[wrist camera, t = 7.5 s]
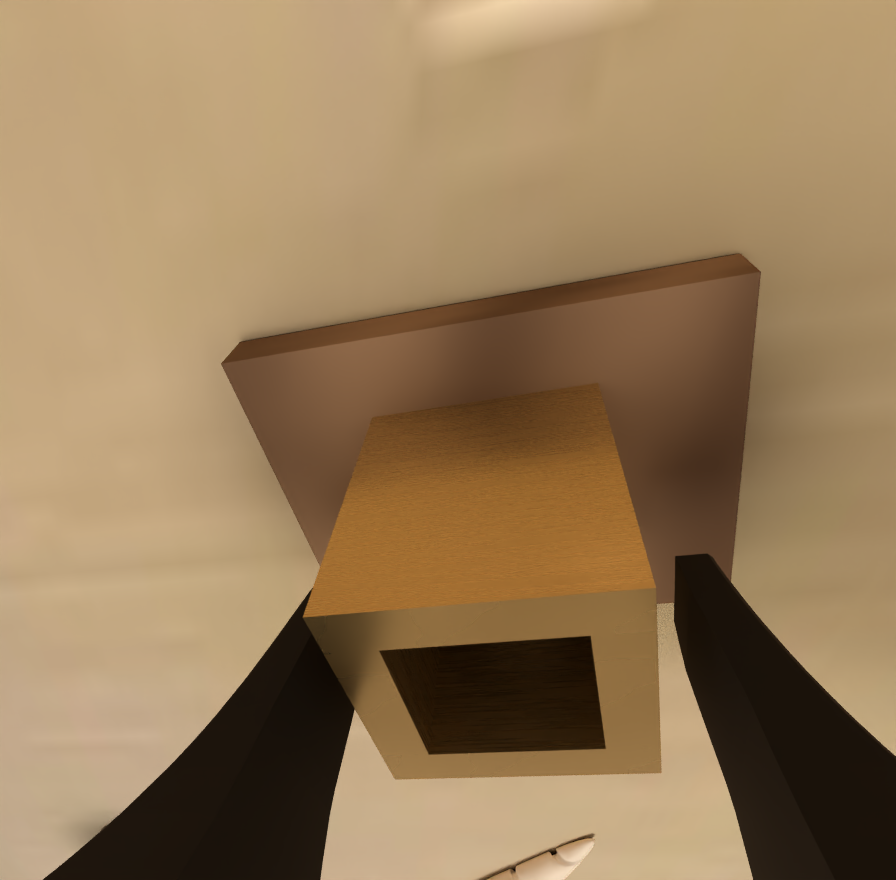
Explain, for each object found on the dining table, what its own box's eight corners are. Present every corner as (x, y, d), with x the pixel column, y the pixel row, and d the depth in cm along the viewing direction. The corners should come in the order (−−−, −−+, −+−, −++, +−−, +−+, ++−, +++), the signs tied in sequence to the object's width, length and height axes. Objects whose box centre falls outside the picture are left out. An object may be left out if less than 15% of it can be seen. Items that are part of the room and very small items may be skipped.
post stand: (740, 253, 12) (826, 329, 9) (716, 568, 18) (764, 686, 14) (240, 342, 14) (163, 428, 11) (356, 597, 20) (328, 705, 17)
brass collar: (598, 383, 13) (656, 587, 8) (612, 549, 16) (661, 773, 11) (372, 417, 14) (302, 617, 9) (425, 568, 17) (395, 779, 12)
